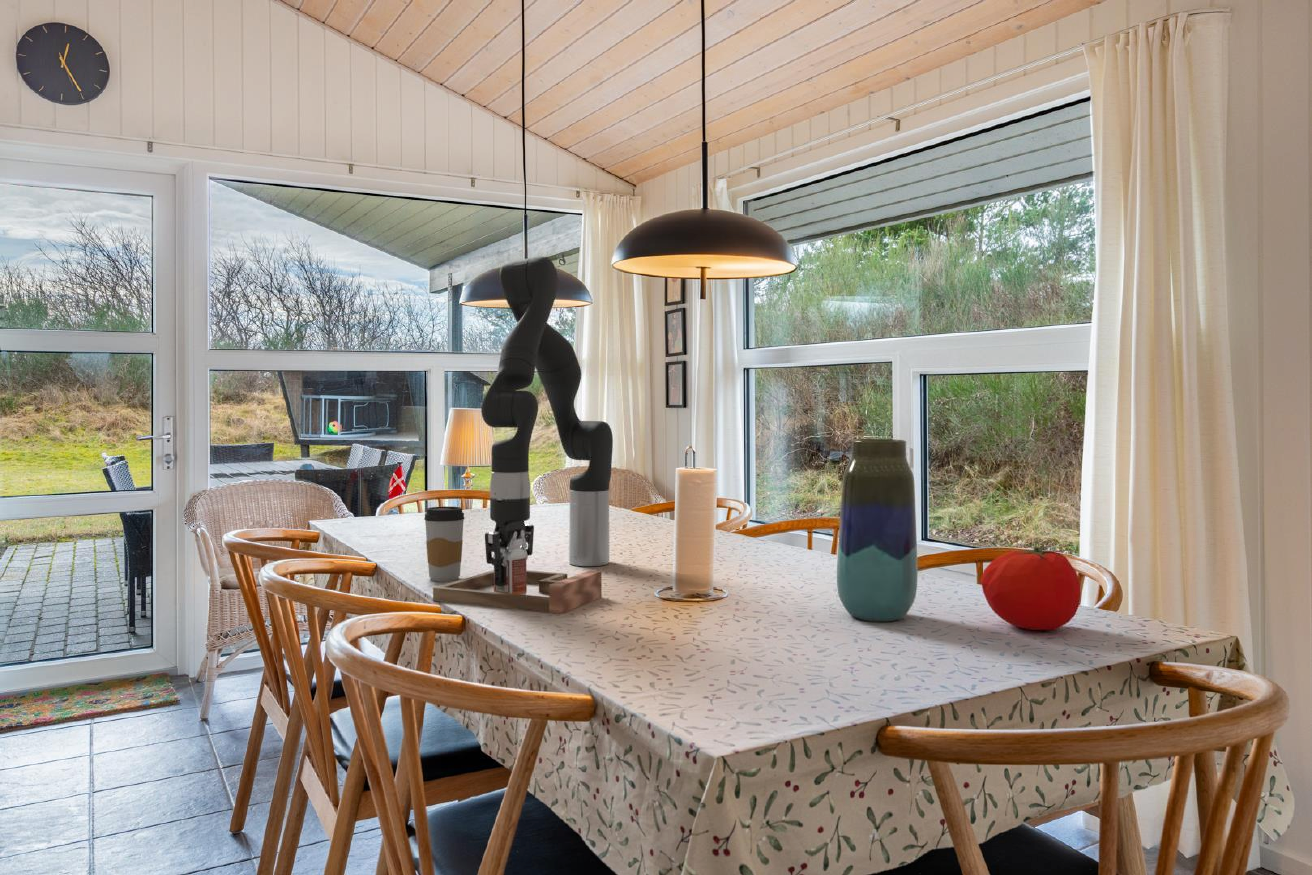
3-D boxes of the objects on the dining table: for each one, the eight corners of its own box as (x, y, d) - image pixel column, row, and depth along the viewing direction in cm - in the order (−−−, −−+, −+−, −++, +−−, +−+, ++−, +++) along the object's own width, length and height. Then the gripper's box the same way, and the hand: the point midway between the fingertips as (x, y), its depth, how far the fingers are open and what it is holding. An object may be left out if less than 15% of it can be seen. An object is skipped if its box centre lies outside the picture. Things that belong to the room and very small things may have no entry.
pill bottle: (525, 592, 184) (525, 535, 183) (527, 598, 178) (527, 540, 177) (493, 593, 183) (493, 536, 182) (494, 599, 176) (494, 541, 176)
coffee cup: (469, 575, 203) (469, 506, 202) (457, 583, 195) (457, 510, 194) (432, 574, 204) (431, 505, 203) (418, 582, 195) (418, 510, 195)
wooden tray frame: (500, 579, 199) (500, 555, 199) (618, 590, 188) (618, 565, 188) (433, 600, 177) (433, 573, 177) (561, 613, 167) (561, 585, 166)
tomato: (1084, 626, 160) (1086, 545, 159) (1074, 643, 148) (1075, 557, 148) (988, 615, 168) (990, 538, 167) (971, 630, 156) (973, 548, 156)
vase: (916, 611, 171) (919, 439, 170) (916, 628, 157) (919, 442, 156) (839, 606, 174) (841, 437, 173) (832, 622, 161) (835, 440, 160)
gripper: (513, 491, 187) (513, 574, 188) (471, 497, 174) (472, 587, 175) (546, 492, 184) (546, 577, 185) (506, 499, 171) (506, 591, 172)
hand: (510, 582), depth 180 cm, fingers closed on pill bottle, 6 cm apart
